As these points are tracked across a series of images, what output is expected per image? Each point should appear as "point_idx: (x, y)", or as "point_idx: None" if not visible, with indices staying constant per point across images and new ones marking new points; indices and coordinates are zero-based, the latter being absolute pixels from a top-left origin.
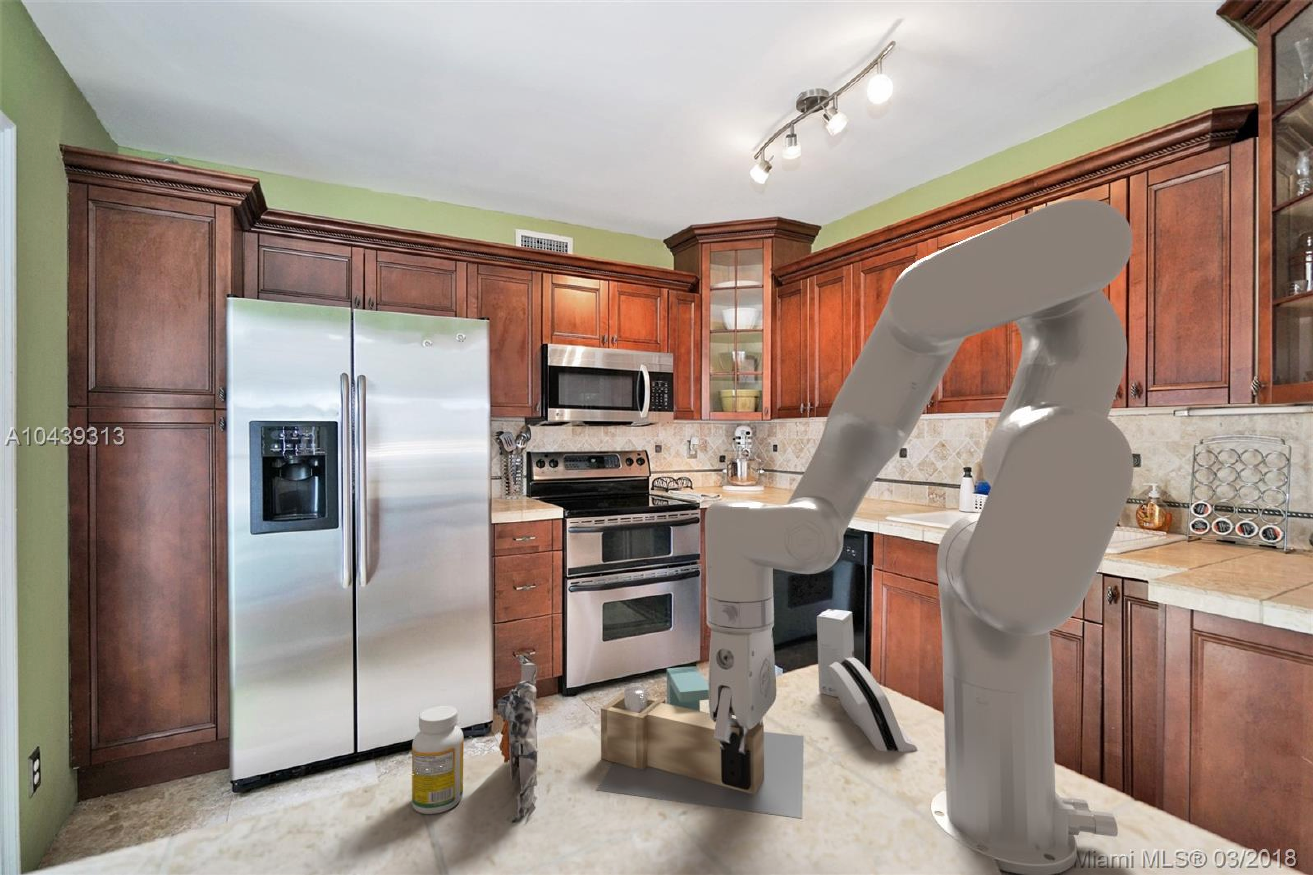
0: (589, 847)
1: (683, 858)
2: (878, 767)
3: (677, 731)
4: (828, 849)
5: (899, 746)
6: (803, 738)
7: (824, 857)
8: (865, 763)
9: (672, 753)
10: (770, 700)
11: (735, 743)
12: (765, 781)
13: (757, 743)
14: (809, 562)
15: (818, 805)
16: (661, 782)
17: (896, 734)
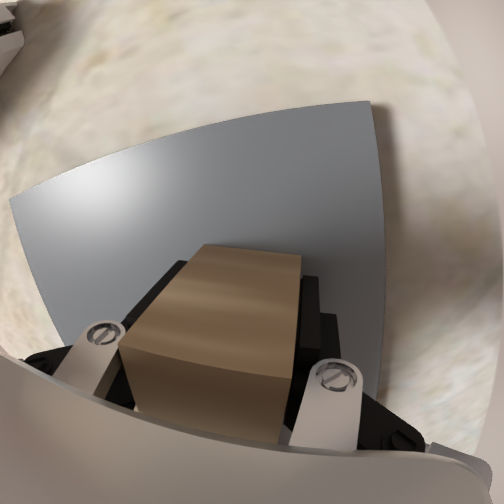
0: (459, 424)
1: (490, 326)
2: (41, 36)
3: None
4: (405, 43)
5: (1, 18)
6: (14, 196)
7: (435, 54)
8: (34, 61)
9: None
10: (17, 409)
11: (401, 428)
12: (217, 238)
13: (233, 332)
14: None
15: (225, 82)
16: None
17: None
